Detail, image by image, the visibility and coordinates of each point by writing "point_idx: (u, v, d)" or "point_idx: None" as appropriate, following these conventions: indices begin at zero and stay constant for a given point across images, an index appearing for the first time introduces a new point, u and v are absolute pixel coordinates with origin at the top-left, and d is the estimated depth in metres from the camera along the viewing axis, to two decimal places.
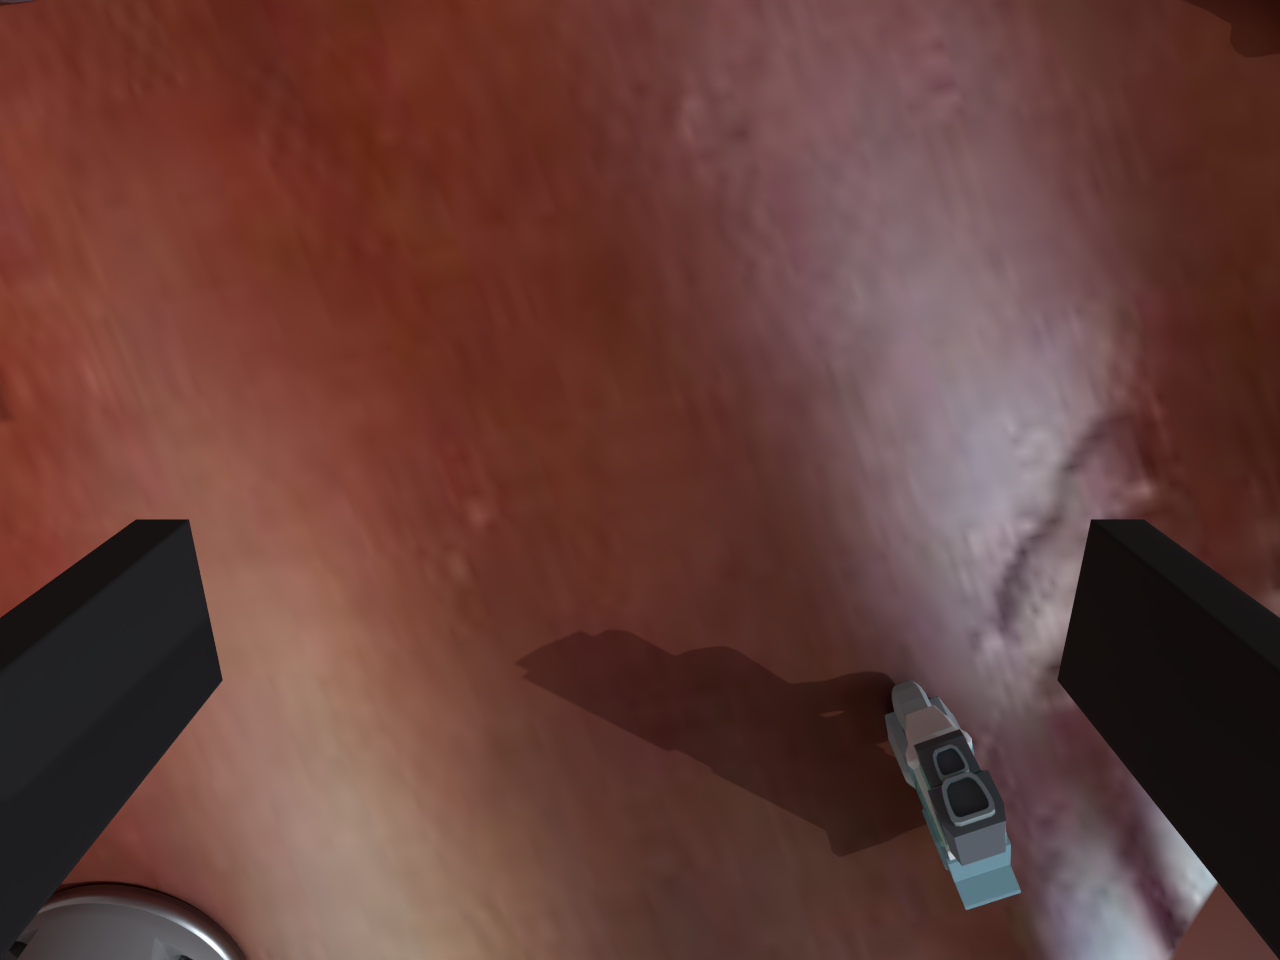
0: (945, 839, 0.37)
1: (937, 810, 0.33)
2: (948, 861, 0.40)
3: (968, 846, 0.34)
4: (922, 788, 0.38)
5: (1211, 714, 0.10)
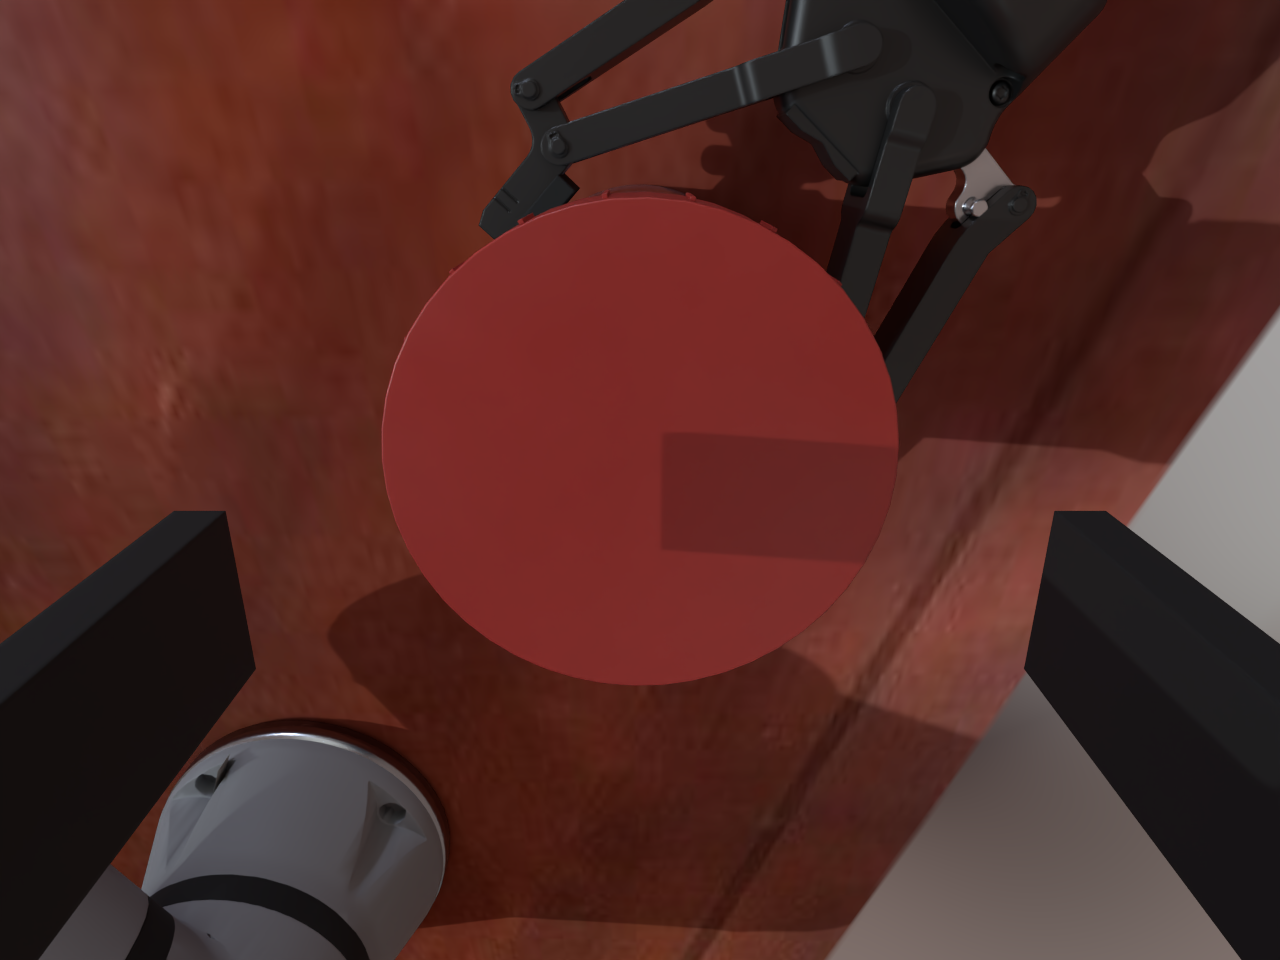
0: None
1: None
2: None
3: None
4: None
5: (1161, 698, 0.10)
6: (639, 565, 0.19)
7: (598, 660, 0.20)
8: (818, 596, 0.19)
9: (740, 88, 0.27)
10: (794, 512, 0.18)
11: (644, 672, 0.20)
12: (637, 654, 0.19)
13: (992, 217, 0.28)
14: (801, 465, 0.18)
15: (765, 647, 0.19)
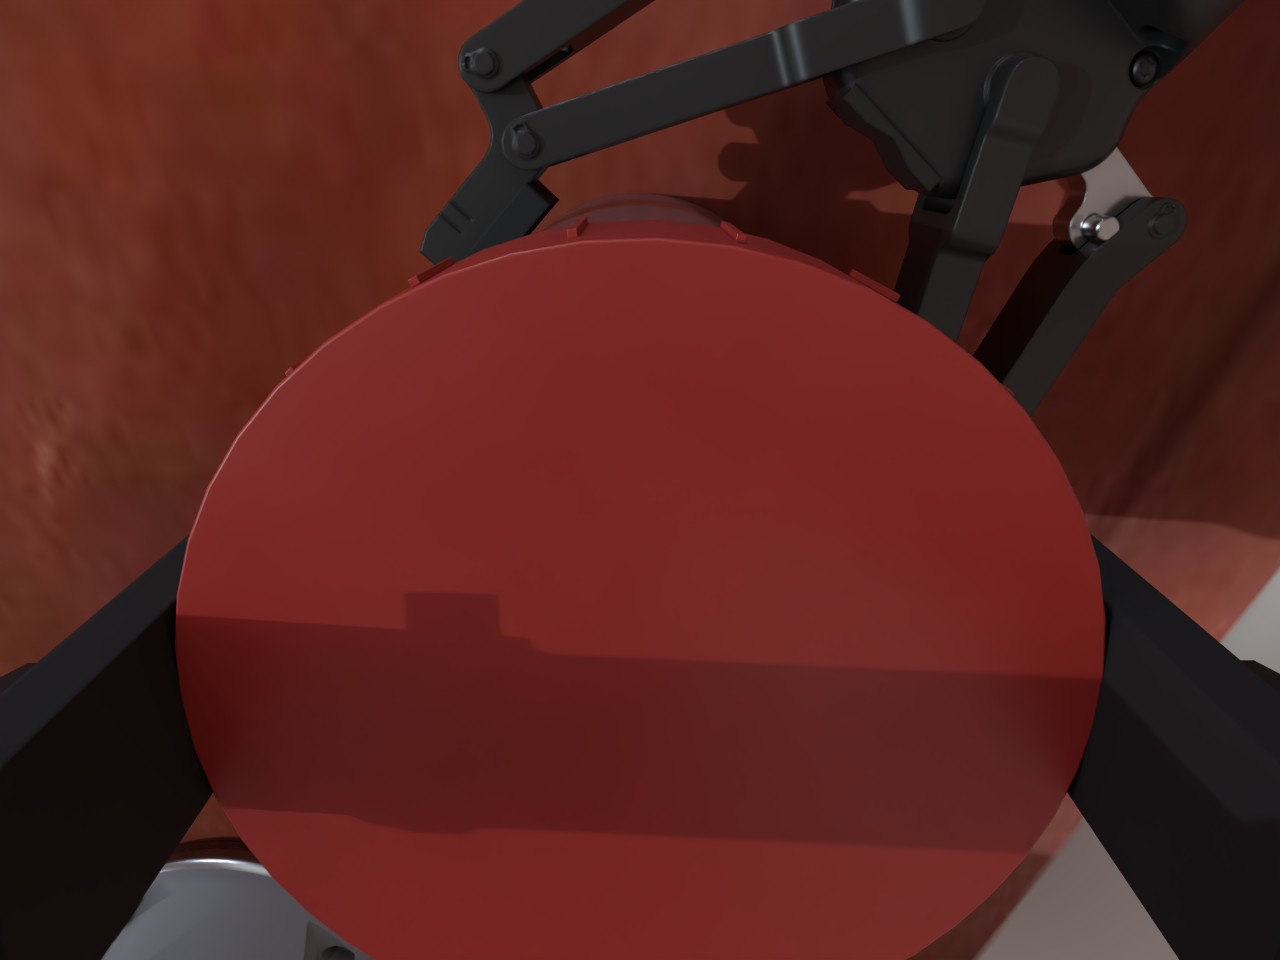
0: None
1: None
2: None
3: None
4: None
5: None
6: (638, 860, 0.11)
7: None
8: (943, 906, 0.11)
9: (781, 62, 0.19)
10: (910, 780, 0.10)
11: None
12: None
13: (1124, 241, 0.21)
14: (926, 707, 0.10)
15: None
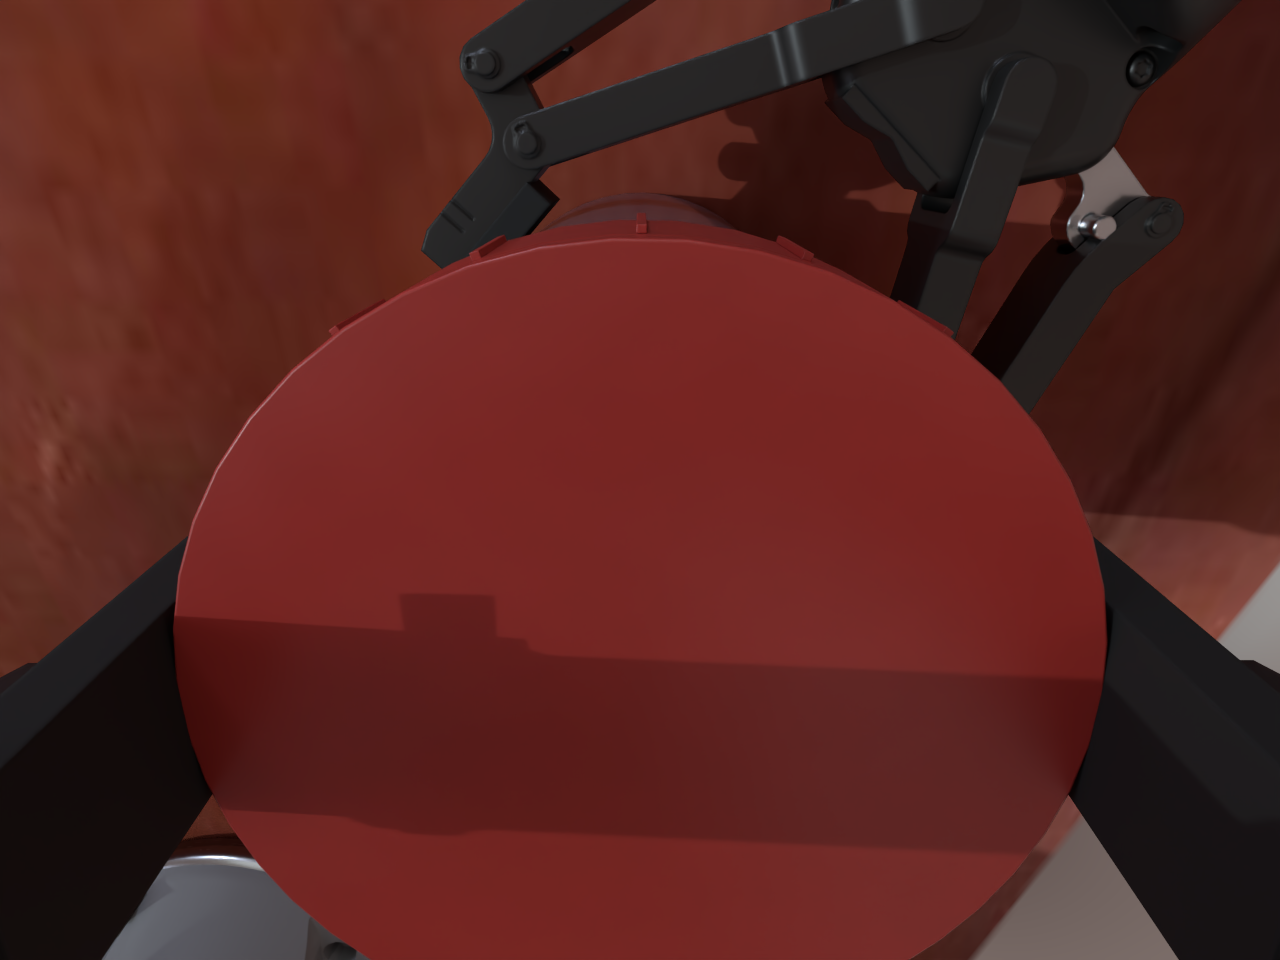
0: None
1: None
2: None
3: None
4: None
5: None
6: (807, 781, 0.10)
7: (935, 898, 0.11)
8: (1052, 537, 0.09)
9: (780, 62, 0.19)
10: (857, 514, 0.09)
11: (1002, 849, 0.11)
12: (963, 846, 0.11)
13: (1121, 240, 0.21)
14: (773, 468, 0.09)
15: (1090, 661, 0.10)
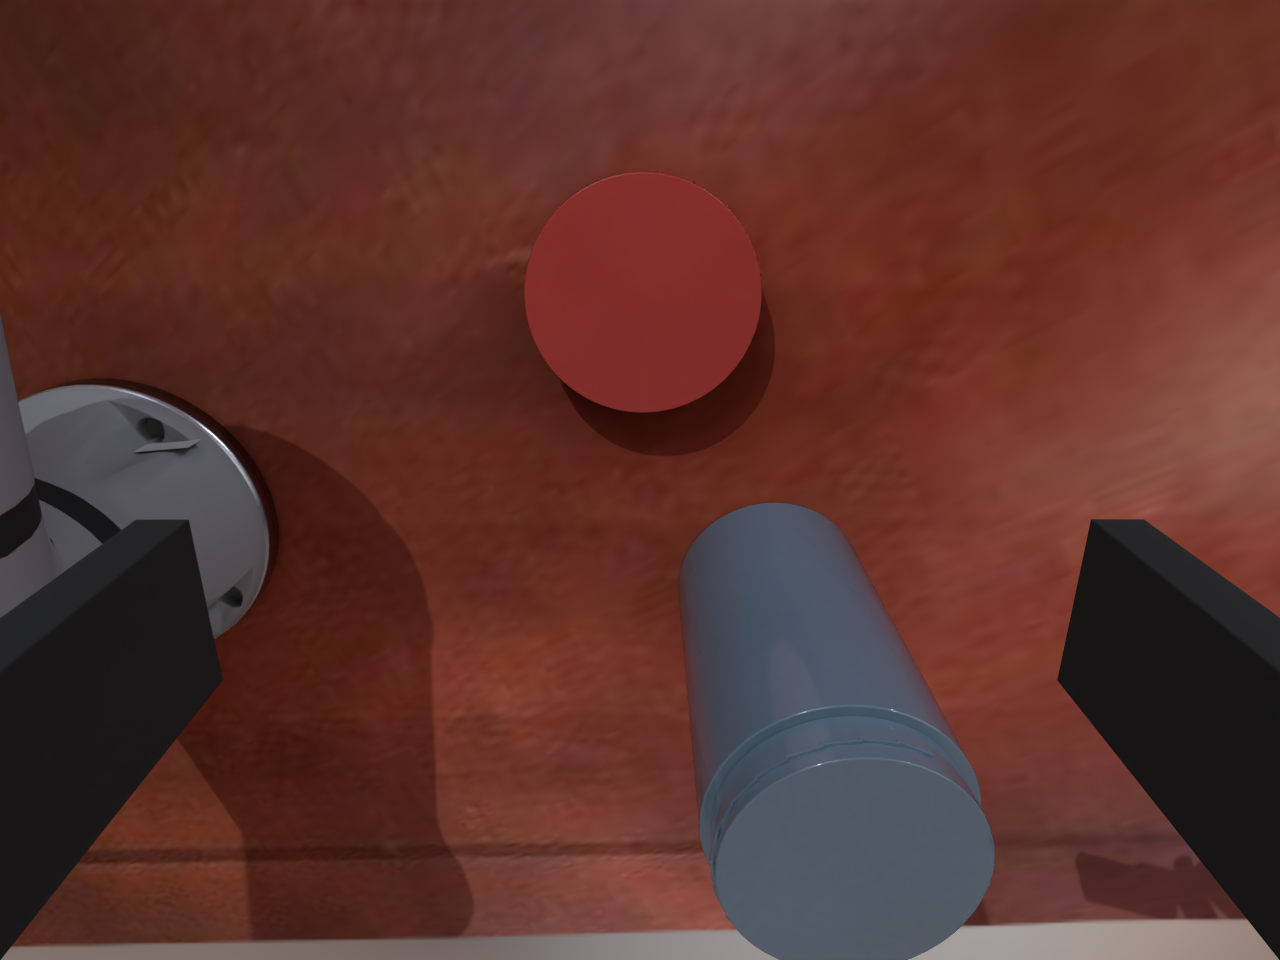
0: None
1: None
2: None
3: None
4: None
5: (1211, 714, 0.09)
6: (682, 266, 0.38)
7: (738, 248, 0.38)
8: (639, 182, 0.37)
9: None
10: (613, 225, 0.38)
11: (729, 224, 0.38)
12: (723, 234, 0.38)
13: None
14: (594, 240, 0.38)
15: (679, 183, 0.37)
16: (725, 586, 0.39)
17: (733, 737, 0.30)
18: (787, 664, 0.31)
